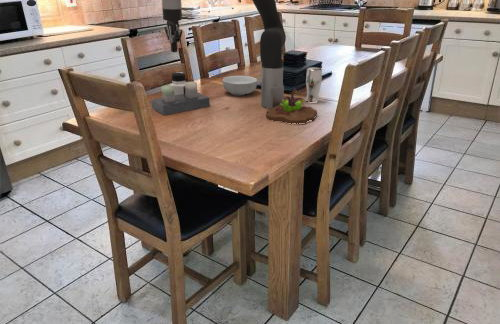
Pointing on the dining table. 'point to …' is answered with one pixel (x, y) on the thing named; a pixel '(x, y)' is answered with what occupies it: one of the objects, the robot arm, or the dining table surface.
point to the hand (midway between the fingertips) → (174, 51)
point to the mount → (180, 104)
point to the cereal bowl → (239, 84)
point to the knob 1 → (168, 93)
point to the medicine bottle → (178, 83)
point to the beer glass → (313, 83)
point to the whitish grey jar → (191, 90)
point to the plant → (291, 111)
